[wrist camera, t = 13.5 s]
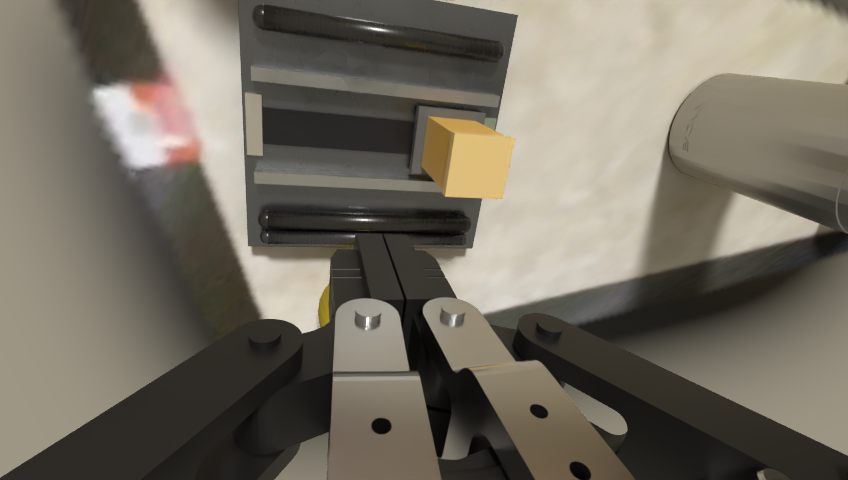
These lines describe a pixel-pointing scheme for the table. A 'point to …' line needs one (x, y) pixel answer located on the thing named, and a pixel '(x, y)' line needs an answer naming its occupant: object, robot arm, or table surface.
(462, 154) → the lever
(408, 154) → the panel
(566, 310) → the table surface
